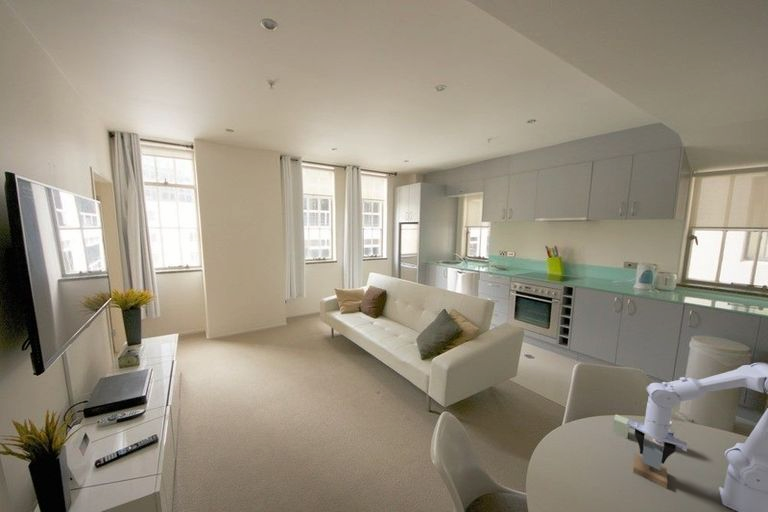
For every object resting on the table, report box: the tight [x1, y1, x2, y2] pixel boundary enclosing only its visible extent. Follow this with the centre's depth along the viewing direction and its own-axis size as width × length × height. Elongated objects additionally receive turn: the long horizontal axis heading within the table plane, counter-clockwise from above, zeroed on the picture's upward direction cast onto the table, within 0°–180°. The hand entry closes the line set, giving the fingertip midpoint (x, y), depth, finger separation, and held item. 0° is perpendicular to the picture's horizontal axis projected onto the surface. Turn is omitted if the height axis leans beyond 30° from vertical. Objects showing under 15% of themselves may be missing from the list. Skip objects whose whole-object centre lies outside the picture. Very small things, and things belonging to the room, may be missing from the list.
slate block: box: [641, 438, 663, 470], centre depth 93 cm, size 4×4×6 cm
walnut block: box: [632, 453, 668, 489], centre depth 94 cm, size 8×8×2 cm
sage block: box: [612, 413, 630, 440], centre depth 112 cm, size 4×4×6 cm
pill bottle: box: [652, 420, 675, 447], centre depth 107 cm, size 5×5×10 cm
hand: (651, 456), depth 93 cm, fingers closed on slate block, 4 cm apart
